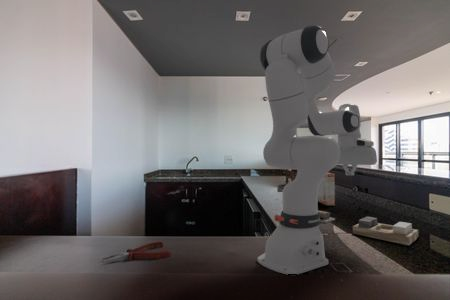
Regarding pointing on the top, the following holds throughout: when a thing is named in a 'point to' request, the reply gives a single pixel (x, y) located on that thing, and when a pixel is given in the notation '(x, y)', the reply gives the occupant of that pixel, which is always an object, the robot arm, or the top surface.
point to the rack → (383, 231)
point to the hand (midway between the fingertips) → (349, 175)
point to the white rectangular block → (402, 228)
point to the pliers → (140, 253)
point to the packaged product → (325, 217)
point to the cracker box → (327, 190)
